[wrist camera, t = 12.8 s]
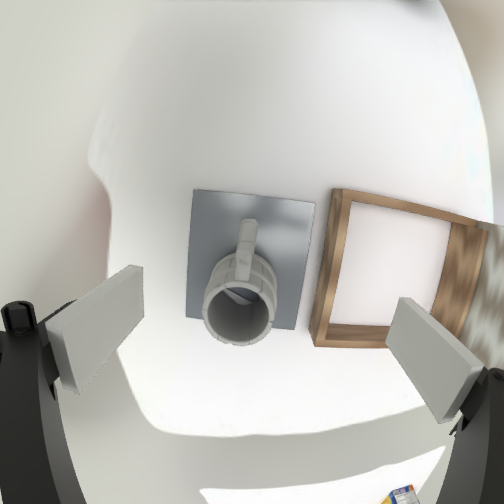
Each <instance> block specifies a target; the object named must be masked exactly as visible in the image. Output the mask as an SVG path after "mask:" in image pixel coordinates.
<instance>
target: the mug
mask: <svg viewBox="0 0 504 504" xmlns="http://www.w3.org/2000/svg"><path fill="white" fill-rule="evenodd" d="M257 231H258V223H257V221H256V220H255V219H244V220H243V221H242V222H241V226H240V232H239V238H238V243H237V250H236V253H232V254H230V255H228V256H226V257H224V258H223V259H221V260H220V261H219V262H218V263H217V264H216V265H215V268H214V269H213V271H212V274H211V277H210V280H209V283H208V285H207V288H206V290H205V294H204V303H203V306H202V308H203V309H202V316H203V319H204V323H205V326H206V328H207V329H208V331H209V332H210V334H211V335H212V336H213V337H214V338H217V340H219V341H221V342H223V343H225V344H227V343H231V344H233V345H236V346H246V345H250V344H251V345H252V344H255V343H257V342H259V341H260V340H262V339H263V338H264V337H265V336H266V335H267V334H268V333H269V331H270V330H271V328H272V324H273V320H274V317H275V312H276V308H277V295H276V294H277V292H276V291H277V279H276V278H277V276H276V274H275V272H274V270H273V268H272V267H271V265H270V264H269V263H268V262H267V261H266V260H265V259H263V258H262V257H260V256H259V255H257V254H254V248H255V242H256V236H257ZM231 287H242V288H247V289H250V290H252V291H254V292H256V293H258V294H259V296H260V299H259V300H258V301H255V302H253V303H252V302H250V301H249V300H247V299H245V298H243V297H241V296H239V295H237V294H235V293H233V292H231V291H230V290H228V289H226V288H231ZM222 290H224V291H225V292H226V293H227V294H228V295H229V296H230V297H231V298H232V299H233V300H234V301H235V302H234V301H232V300H231V299H228V297H227V296H226V295H225V294H224V293H223V291H222Z"/></svg>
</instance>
